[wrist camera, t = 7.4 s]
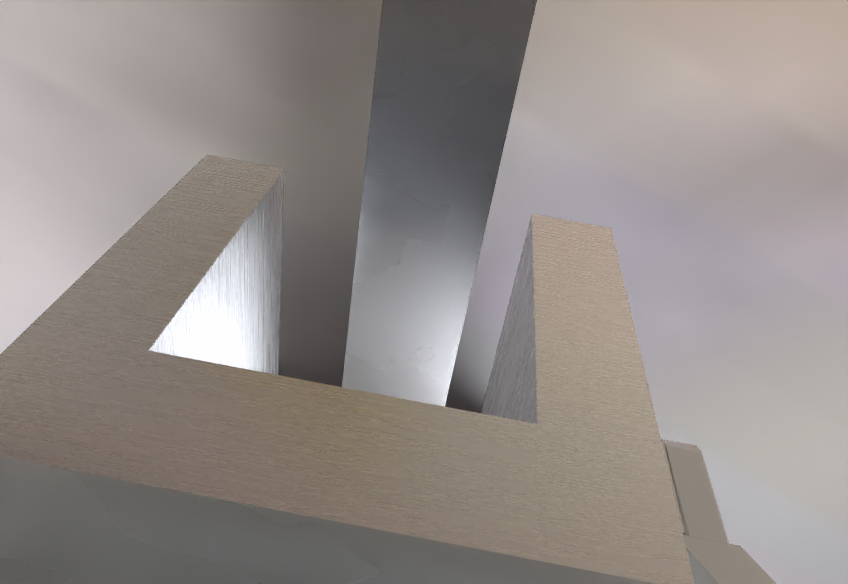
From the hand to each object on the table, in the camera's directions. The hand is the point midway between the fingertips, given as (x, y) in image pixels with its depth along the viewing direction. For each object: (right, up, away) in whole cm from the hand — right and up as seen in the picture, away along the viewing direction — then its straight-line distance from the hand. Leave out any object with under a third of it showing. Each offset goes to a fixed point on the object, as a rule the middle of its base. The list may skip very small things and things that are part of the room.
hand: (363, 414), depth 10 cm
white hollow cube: (0, +1, +2) cm, 2 cm away
